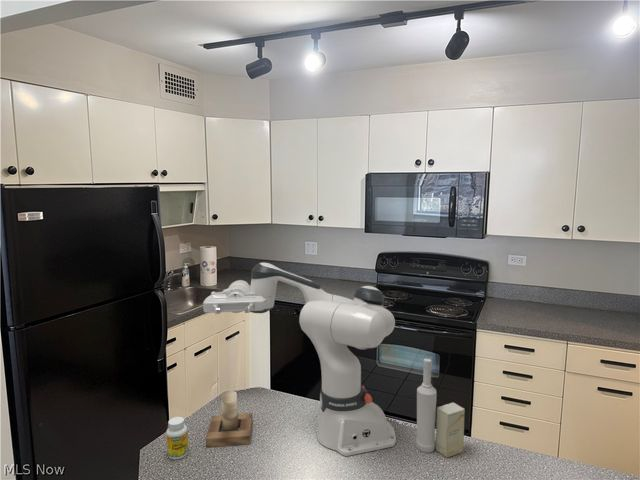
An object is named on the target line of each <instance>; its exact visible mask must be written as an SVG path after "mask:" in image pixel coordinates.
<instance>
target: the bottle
mask: <svg viewBox="0 0 640 480" xmlns="http://www.w3.org/2000/svg"><path fill="white" fill-rule="evenodd" d="M422 362H423V365H422V366H423V369H422V370H423V374H422V375H423V376H422V377H423V378H422V383H421V385H419V386H418V387H417V389H416V439H415V445H416V449H417V450H418V451H420V452H422V453H425V454H428V453H429V454H430V453H432V452H434V451H435V449H436V440H435V437H436V417H437V394H438V393H437V389H436V388H435V387H434V386H433V384H432V383H431V382H432V360H431V358H424V359H423V360H422Z"/></svg>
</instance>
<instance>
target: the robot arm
mask: <svg viewBox="0 0 640 480" xmlns="http://www.w3.org/2000/svg"><path fill="white" fill-rule="evenodd" d="M250 279H251V281H250V284H249V283H248V282H247V281H246V280H242V279H238V280H235V281H233V282H231V283H230V285H229V286H228V288H224V289H222V290H215V291H211V292H210V295H209V296H207V297H206V298H205V299H204V300H203V302H202V307H203V308H202V309H203V312H204V313H206V314H209V313H211V314H213V313H214V314H215V315H220V314H221V313H233V314H238V313H243V312H244V313H246V314H247V313H248V314H249V313H253V314H264V313H265V314H266V313H267V312H269V311H271V310H272V309H273V308H274V306H275V300H276V294H277V293H276V291H277V285H278V282H279V281H280V282H283V283H286V284H288V285H290V286H293V287H296V288H298V289H299V290H300V291H301V292H302V295H303V298H304V303H305V304H304V305H303V307H302V308H301V310H300V313H299V320H298V322H299V326H300V329H301V330H302V331H303V333H304V334H306V336H307V337H308V338H309V339H310V341H311V343H312V344H313V346H314V349H315V351H316V353H317V355H318V358H319V363H320V370H321V387H320V393H319V407H320V419H319V425H318V428H317V431H316V438H317V441H318V442H319V444H321V445H322V446H324V447H325V448H328V449H329V450H334V451H335V452H337V453H339V454H340V455H342V456H344V457H347V456H354V455H358V454H364V453H368V452H372V451H373V452H374V451H378V450H383V449H387V448H392V447H394V446H395V445H396V443H397V437H396V434H397V433H396V431H395V429H394V427H393V425H392V424H391V422H389V421H388V420H387V417H386V415H385V413H384V411H383V409H382V408H381V407H380V406H379V405H378V404H376V403H375V402H373V397H372V396H371V394H369V392H368V390H367V388H365V386H364V385H363V384H362V366H361V363H360V362H361V361H360V360H359V359H358V357H357V356H356V354H354V353H353V352H352V351H351V350H350V349H349V348H348V346H349V347H353V348H356V349H357V350H370V349H375V348H377V347H378V346H380V345H381V343H382V342H383V340H384V339H385V338H386V337H388V336H389V335H390V334H391V333H393V331H394V329H395V326H396V320H395V317H394V314H393V313H392V312H391V311H390V310H389V309H387V308H385V307H384V305H385V304H384V303H386V301H385V299H384V294H383V292H382V291H381V290H379V289H378V288H377V287H375V286H372V285H364V286H359V287H358V288H356V289H355V292H354V294H353V299H351V298H349V297H345V296H342V295H338V294H331V293H328V292H326V291H325V290H324V289H323V288H321V284H319V282H316V281H314V280H312V279H310V278H307V277H305V276H302V275H299V274H298V273H293V272H291V271H288V270H286V269H284V268H281V267H278V266H276V265H274V264H272V263H270V262H258V263H257V264H256V265H254V266H253V267H252V269H251V277H250Z"/></svg>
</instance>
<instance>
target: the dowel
mask: <svg viewBox="0 0 640 480" xmlns="http://www.w3.org/2000/svg"><path fill="white" fill-rule="evenodd" d="M220 397H221V399H220V400H221V415H222V426H223V428H222V432H225V431H239V427H238V414H239V413H238V395H237V392H236V391H235V390H227V391H224V392H222V393H221V394H220Z"/></svg>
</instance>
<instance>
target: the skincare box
mask: <svg viewBox="0 0 640 480" xmlns="http://www.w3.org/2000/svg"><path fill="white" fill-rule="evenodd" d="M465 413H466V411H465V408H464V407H462V406H460V405H459V404H457V403H455V402H450V403H446V404H444V405H440V406H438V407H437V406H436V422H435V450H436V451H438V452H439V453H440V454H441V455H442V456H444V457H445V458H449V457H453V456H455V455H458V454H460V453H462V452H464V443H465V442H464V439H465V436H464V435H465Z"/></svg>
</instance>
